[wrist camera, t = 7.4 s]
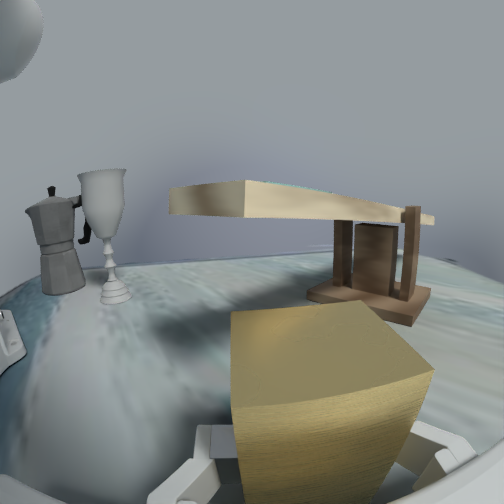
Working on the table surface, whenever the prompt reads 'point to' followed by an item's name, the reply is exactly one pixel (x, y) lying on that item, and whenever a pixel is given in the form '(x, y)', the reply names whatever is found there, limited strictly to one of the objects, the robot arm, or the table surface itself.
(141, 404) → the table surface
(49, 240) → the coffeepot
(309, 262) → the table surface
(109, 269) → the chalice
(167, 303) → the table surface
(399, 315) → the beam stand
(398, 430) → the tall olive textured block
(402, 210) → the balance beam
